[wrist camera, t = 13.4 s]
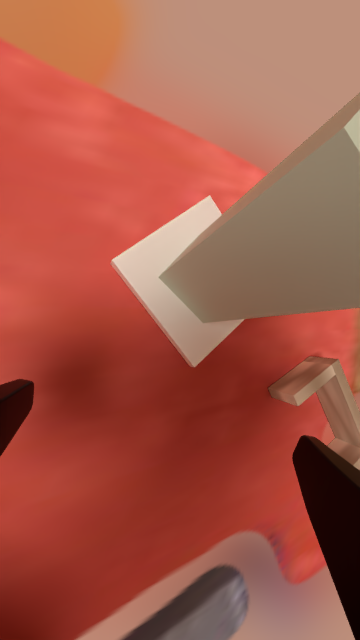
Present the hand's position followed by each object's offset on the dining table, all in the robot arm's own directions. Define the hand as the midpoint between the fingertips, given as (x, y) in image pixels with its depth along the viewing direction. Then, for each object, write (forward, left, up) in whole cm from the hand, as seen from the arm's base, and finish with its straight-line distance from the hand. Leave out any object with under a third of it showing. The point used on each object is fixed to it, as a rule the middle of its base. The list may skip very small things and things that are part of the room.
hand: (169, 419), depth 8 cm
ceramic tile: (+9, +2, -11) cm, 14 cm away
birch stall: (+11, -15, -11) cm, 21 cm away
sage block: (+9, +2, -10) cm, 13 cm away
